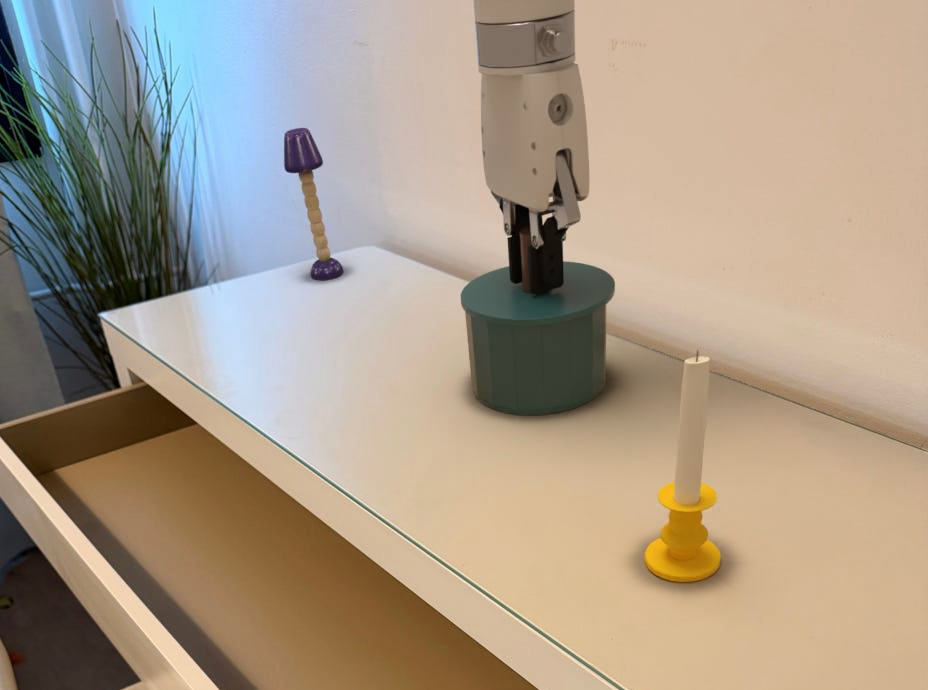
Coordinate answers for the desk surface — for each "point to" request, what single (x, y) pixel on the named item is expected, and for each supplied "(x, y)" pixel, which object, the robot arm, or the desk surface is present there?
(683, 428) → the candle
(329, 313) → the desk surface
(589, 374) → the tin
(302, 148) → the toy lamp
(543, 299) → the lid
